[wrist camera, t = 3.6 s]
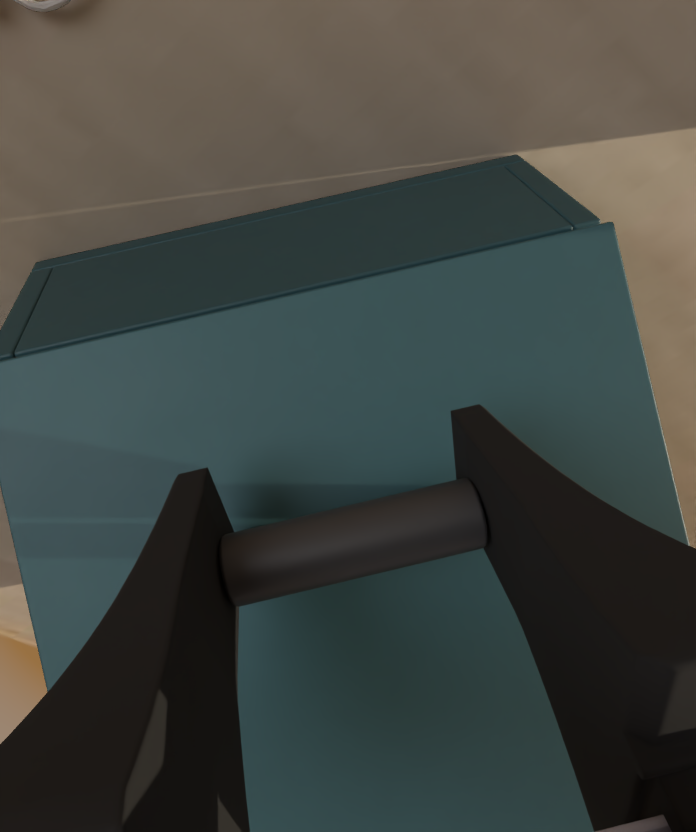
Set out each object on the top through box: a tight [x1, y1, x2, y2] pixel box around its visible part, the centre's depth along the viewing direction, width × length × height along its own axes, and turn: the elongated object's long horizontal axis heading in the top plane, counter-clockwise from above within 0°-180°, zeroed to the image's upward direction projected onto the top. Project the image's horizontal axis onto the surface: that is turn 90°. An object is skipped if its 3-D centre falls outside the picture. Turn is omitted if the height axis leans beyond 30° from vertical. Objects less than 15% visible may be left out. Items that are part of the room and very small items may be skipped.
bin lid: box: [0, 222, 690, 832], centre depth 14 cm, size 15×15×4 cm
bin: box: [0, 155, 600, 361], centre depth 22 cm, size 14×15×6 cm
